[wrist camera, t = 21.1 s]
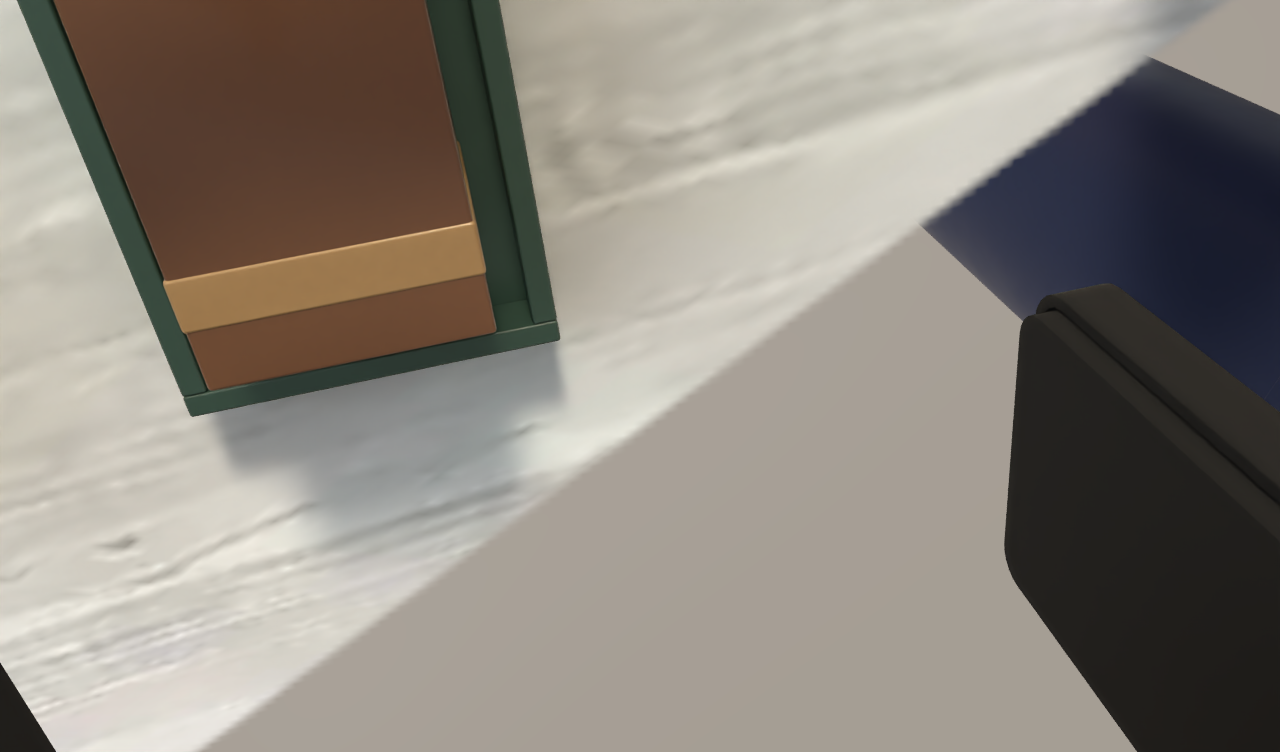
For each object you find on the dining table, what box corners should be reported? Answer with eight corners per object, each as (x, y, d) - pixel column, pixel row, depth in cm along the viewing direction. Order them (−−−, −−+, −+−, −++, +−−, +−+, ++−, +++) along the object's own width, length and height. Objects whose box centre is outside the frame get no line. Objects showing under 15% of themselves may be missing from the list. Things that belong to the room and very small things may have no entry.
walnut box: (48, -227, 20) (-38, -212, 16) (369, -272, 21) (369, -269, 17) (233, 286, 26) (205, 395, 22) (480, 237, 27) (500, 334, 23)
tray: (550, 304, 29) (561, 341, 27) (201, 376, 28) (190, 418, 26) (411, -446, 20) (415, -461, 19) (-104, -383, 19) (-150, -393, 18)
